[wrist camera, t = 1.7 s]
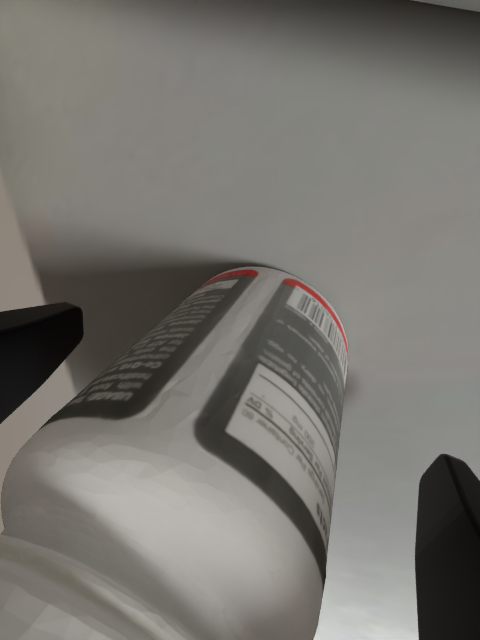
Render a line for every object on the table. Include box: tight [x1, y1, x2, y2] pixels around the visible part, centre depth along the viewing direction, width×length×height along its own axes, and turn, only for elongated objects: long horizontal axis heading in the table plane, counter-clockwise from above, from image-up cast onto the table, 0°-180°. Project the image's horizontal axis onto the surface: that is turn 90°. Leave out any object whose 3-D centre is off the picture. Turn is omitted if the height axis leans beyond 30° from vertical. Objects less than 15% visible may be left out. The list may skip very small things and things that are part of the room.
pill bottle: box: [0, 267, 348, 640], centre depth 6 cm, size 5×5×8 cm
